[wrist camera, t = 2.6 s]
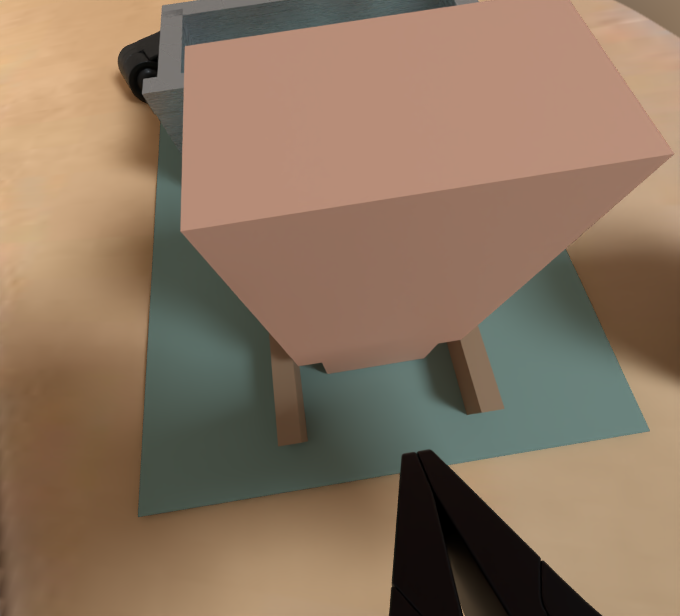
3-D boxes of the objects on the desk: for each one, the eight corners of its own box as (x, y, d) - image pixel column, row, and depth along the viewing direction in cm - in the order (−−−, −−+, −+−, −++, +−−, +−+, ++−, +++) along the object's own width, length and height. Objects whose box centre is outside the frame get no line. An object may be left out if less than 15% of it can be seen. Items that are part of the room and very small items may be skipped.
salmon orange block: (443, 355, 17) (674, 153, 5) (308, 377, 17) (179, 231, 5) (424, 284, 18) (562, -11, 6) (299, 304, 18) (184, 46, 6)
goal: (468, 157, 21) (518, 36, 15) (207, 198, 21) (142, 93, 15) (434, 69, 25) (463, -63, 18) (206, 103, 24) (151, -17, 18)
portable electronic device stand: (145, 111, 25) (119, 71, 22) (133, 92, 26) (106, 51, 23) (340, 21, 28) (338, -24, 25) (324, 7, 29) (320, -39, 26)
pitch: (644, 431, 16) (691, 431, 13) (141, 515, 15) (106, 529, 13) (470, 51, 26) (481, 16, 23) (164, 97, 25) (146, 66, 23)
